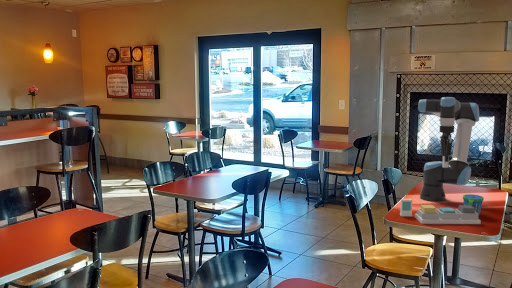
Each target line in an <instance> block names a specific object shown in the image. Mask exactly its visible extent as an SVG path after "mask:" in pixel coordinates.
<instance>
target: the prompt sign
mask: <svg viewBox="0 0 512 288" xmlns="http://www.w3.org/2000/svg"><path fill="white" fill-rule="evenodd" d="M399 215H400V217H413V199H410V198H409V199H400V212H399Z"/></svg>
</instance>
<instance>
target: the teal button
mask: <svg viewBox="0 0 512 288" xmlns="http://www.w3.org/2000/svg"><path fill="white" fill-rule="evenodd" d="M439 209H440V211H441V212H442V213H455V209H454V208H452V207H439Z"/></svg>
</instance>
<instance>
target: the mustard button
mask: <svg viewBox="0 0 512 288" xmlns="http://www.w3.org/2000/svg"><path fill="white" fill-rule="evenodd" d="M420 209H421V211H422V212H423V213H436V209H437V208H436V207H435V206H434V205H433V204H421V205H420Z"/></svg>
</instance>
